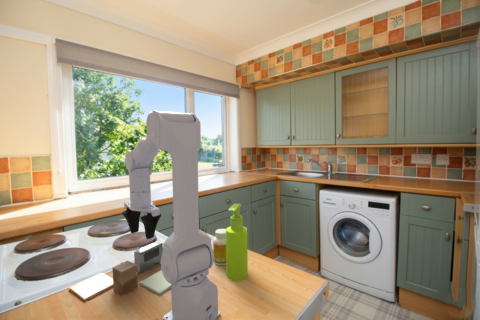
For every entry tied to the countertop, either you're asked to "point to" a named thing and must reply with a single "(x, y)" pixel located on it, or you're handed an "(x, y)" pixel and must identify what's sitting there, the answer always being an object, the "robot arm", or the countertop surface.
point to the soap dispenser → (236, 246)
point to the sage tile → (156, 283)
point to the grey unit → (148, 256)
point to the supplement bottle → (220, 247)
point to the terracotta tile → (92, 286)
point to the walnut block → (124, 277)
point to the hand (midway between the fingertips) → (142, 235)
